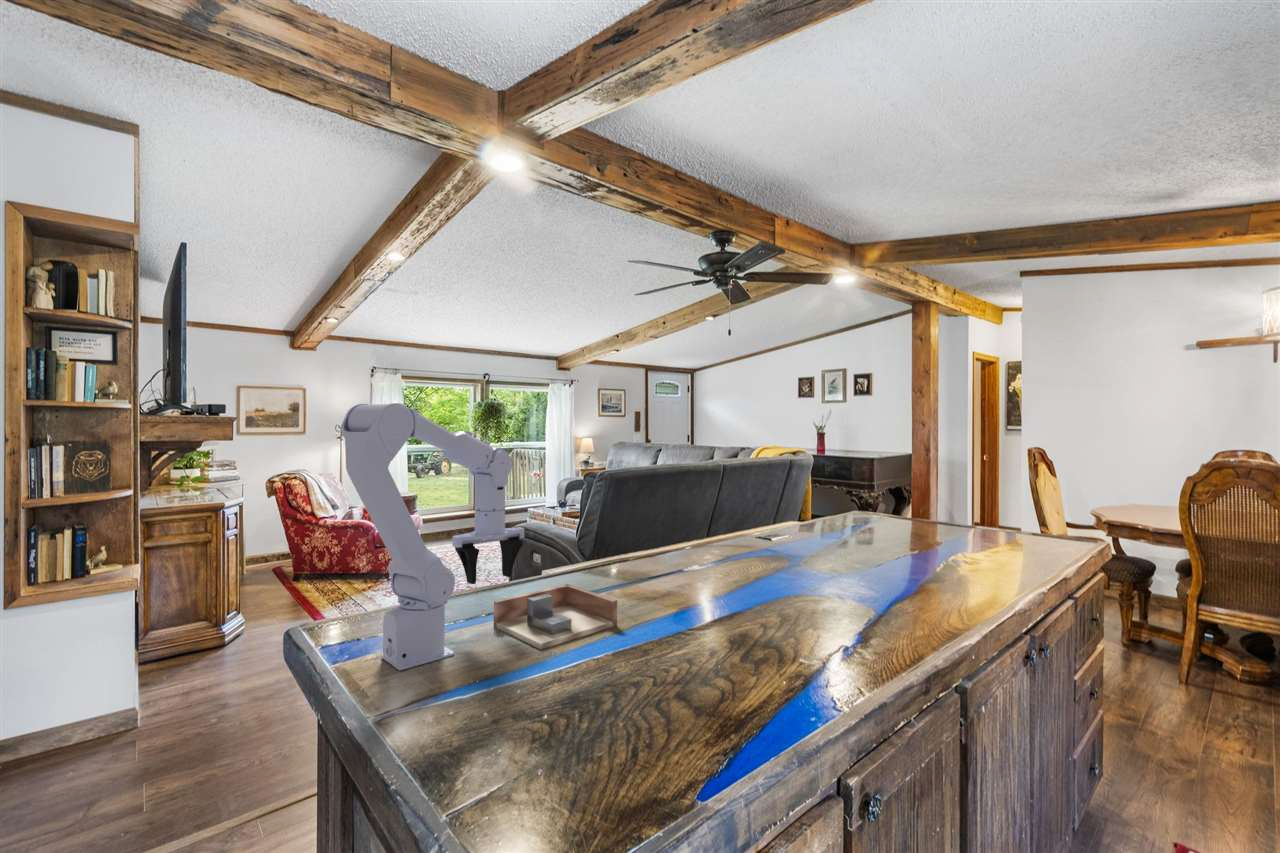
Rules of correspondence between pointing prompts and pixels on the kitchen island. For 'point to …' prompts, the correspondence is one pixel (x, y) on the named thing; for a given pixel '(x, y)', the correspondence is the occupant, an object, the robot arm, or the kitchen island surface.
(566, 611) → the corner arena
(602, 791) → the kitchen island surface
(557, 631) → the angle bracket
